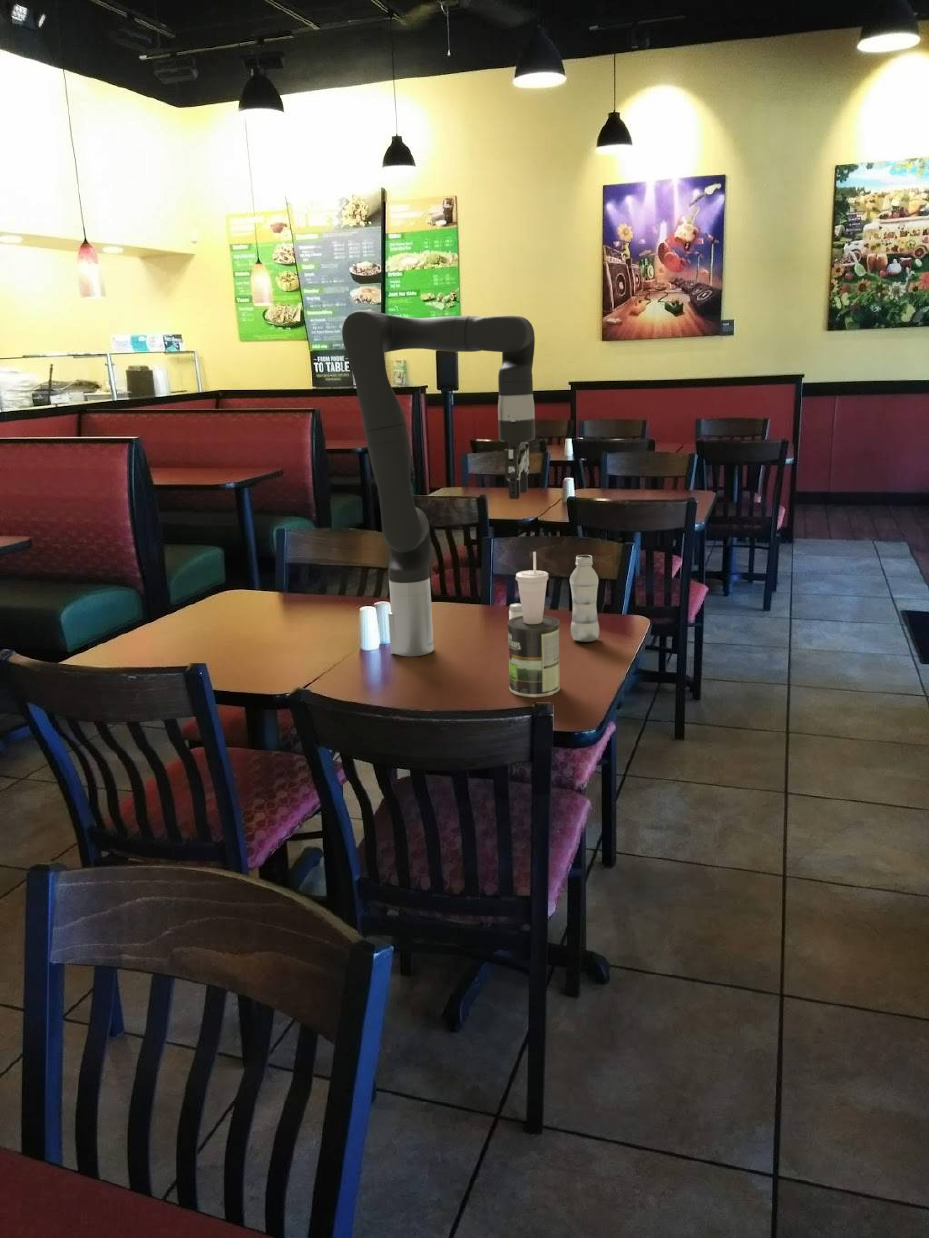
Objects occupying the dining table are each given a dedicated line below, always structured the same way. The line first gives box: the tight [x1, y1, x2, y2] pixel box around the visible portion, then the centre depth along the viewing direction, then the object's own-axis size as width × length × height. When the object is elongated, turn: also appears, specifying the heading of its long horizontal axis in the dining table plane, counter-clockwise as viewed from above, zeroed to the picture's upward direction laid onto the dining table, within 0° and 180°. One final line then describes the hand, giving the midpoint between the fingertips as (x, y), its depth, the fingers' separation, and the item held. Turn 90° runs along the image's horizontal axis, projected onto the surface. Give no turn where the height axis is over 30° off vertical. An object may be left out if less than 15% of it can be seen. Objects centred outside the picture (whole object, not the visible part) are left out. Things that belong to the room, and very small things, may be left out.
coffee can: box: [506, 614, 561, 698], centre depth 186 cm, size 10×10×14 cm
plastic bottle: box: [569, 554, 600, 643], centre depth 214 cm, size 6×7×20 cm
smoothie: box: [515, 551, 549, 624], centre depth 182 cm, size 6×6×14 cm
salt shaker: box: [508, 603, 523, 621], centre depth 220 cm, size 4×4×8 cm
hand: (518, 495), depth 197 cm, fingers open, 8 cm apart
